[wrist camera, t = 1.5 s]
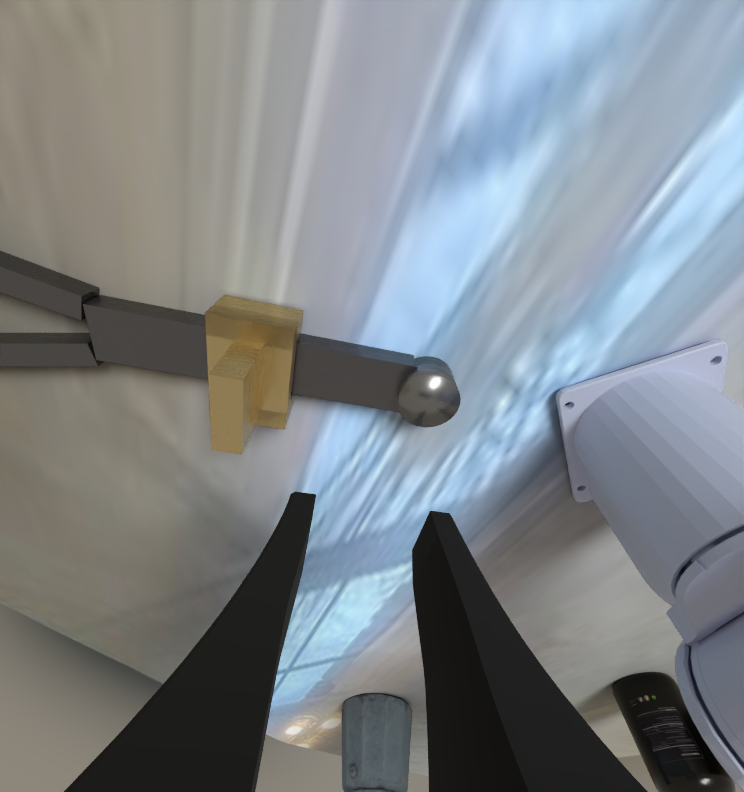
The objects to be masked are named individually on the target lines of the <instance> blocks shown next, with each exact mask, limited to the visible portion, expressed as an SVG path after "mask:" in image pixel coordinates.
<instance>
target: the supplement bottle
mask: <svg viewBox="0 0 744 792" xmlns="http://www.w3.org/2000/svg"><path fill="white" fill-rule="evenodd" d="M613 694H614V696H615V699H616V701H617V703H618V706H619V708H620V710H621V712H622V714H623V717H624V719H625V721H626V723H627V725H628V728H629V730H630V732H631V734H632V736H633V739H634V741H635V743H636V745H637V747H638V750H639V752H640V754H641V756H642V758H643V761H644V763H645V765H646V767H647V769H648V772H649V774H650V776H651V778H652V780H653V783H654V784H655V787H656V789H657V790H658V792H736V791H735V790H736V789H735V784H734V781H733V780H732V779H731V777H730V776H729V775H728V773H727V772H726V771H725V769H724V768H723V767H722V765H721V764H720V763H719V762H718V760H717V759H716V757H715V756H714V754H713V753H712V751H711V750H710V748H709V747H708V745H707V744H706V742H705V741H704V739H703V738H702V736H701V734H700V732H699V731H698V729H697V727H696V725H695V724H694V722H693V720H692V718H691V716H690V714H689V712H688V709H687V707H686V705H685V703H684V701H683V698H682V695H681V692H680V689H679V687H678V685H677V683H676V682H675V681H674V679H672V678H671V677H670V676H668V675H666V674H663V673H656V672H648V673H639V674H634V675H631V676H628V677H625V678H623V679H621V680H619V681H618V682H616V683H615V684H614V686H613Z"/></svg>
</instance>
